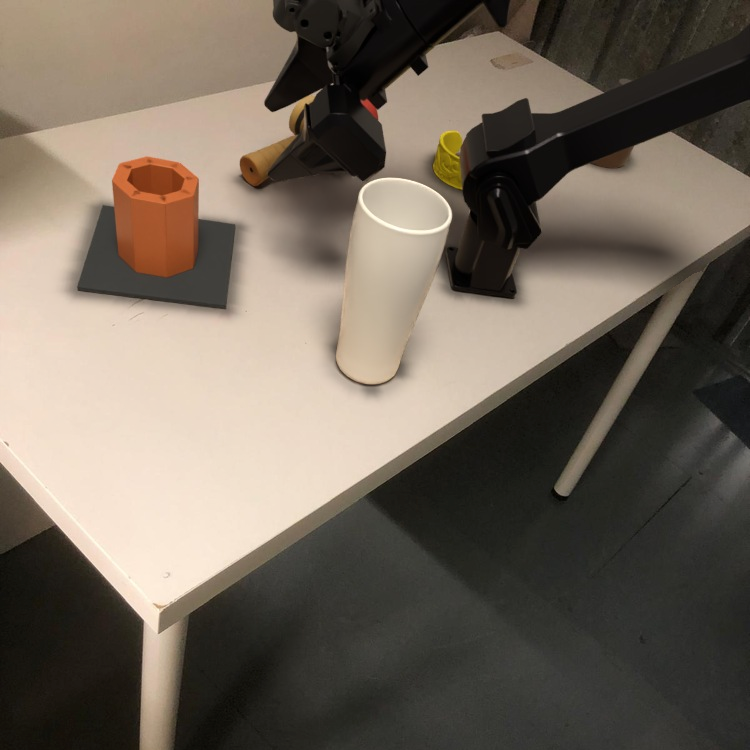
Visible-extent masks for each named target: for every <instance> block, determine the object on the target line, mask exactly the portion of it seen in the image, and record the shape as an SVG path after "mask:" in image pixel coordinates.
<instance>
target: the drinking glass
mask: <svg viewBox="0 0 750 750" xmlns="http://www.w3.org/2000/svg"><path fill="white" fill-rule="evenodd" d="M452 218H453V211H452V207H451V206H450V204H449V203H448V201H447V199H445V198H444V197H443V196H442V194H440V193H439V192H437V191H435V190H434V189H433V188H431V187H429V186H427V185H425V184H423V183H420V182H418V181H414V180H412V179H407V178H401V177H382V178H377V179H374V180H373V179H372V180H371V181H368V182H367V183H366V184H364V185H363V186H362V187H361V188H360V190H359V192H358V196H357V200H356V204H355V209H354V212H353V216H352V221H351V225H350V232H349V237H348V243H347V250H346V251H347V252H346V260H345V270H344V271H345V272H344V284H343V292H342V305H341V315H340V325H339V326H340V327H339V334H338V340H337V345H336V351H335V361H336V364H337V366H338V368H339V370H340V371H341V373H343V374H344V375H345V376H346V377H347V378H349V379H351V380H353V381H355V382H357V383H360V384H364V385H379V384H383V383H386V382H388V381H389V380H391V379H392V378H393V377H394V376H395V375H396V373H397V372H398V370H399V368H400V364H401V361H402V357H403V354H404V352H405V349H406V347H407V345H408V342H409V339H410V337H411V334H412V332H413V330H414V328H415V324H416V322H417V320H418V317H419V316H420V315H419V314H420V313H421V310H422V307H423V305H424V303H425V300H426V298H427V296H428V293H429V291H430V288H431V286H432V284H433V282H434V279H435V276H436V274H437V271H438V268H439V266H440V263H441V260H442V257H443V253H444V252H445V246H446V243H447V240H448V236H449V231H450V228H451V223H452V221H453V219H452Z"/></svg>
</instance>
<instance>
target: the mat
mask: <svg viewBox="0 0 750 750" xmlns="http://www.w3.org/2000/svg"><path fill="white" fill-rule="evenodd" d="M235 233H236V224H235V223H230V222H221V221H216V220H208V219H201V218H199V219H198V254H197V257H196V261H195V264H194V268H193V269H190V270H187V271H185V272H182V273H179V274H176V275H173V276H171V277H161V276H155V275H149V274H143V273H137V272H135V271H134V270H133V269H132V268H131V267H130V266H129V265H128V264H127V263H126V262H125V261H124V260H123V259H122V258H121V257H120V256H119V254H118V243H117V232H116V221H115V210H114V205H113V206H111V205H107V204H106V205H105V204H103V205H102V206H101V210H100V213H99V216H98V219H97V222H96V225H95V229H94V232H93V235H92V238H91V240H90V245H89V248H88V251H87V254H86V258H85V260H84V264H83V266H82V270H81V273H80V276H79V280H78V282H77V286H76V289H77V291H81V292H88V293H94V294H95V293H96V294H102V295H103V294H104V295H112V296H119V297H127V298H133V299H143V300H152V301H160V302H168V303H175V304H184V305H191V306H199V307H207V308H214V309H215V308H216V309H223V310H225V309H226V308H227V301H228V300H227V299H228V291H229V283H230V275H231V267H232V258H233V250H234V242H235V241H234V240H235Z"/></svg>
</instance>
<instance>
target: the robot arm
mask: <svg viewBox="0 0 750 750" xmlns="http://www.w3.org/2000/svg"><path fill="white" fill-rule="evenodd" d="M511 1H512V0H272V5H273V6H272V7H273V9H272V18H273V20H274V21H275V23H276V24H277V25H278V26H279V27H280V28H281V29H283V30H285V31H287V32H289V33H296V41H295V44H294V45H293V47H292V50H291V52H290V54H289V56H288V58H287V59H286V61H285V63H284V64H283V67H282V69H281V70H280V72H279V74H278V75H277V77H276V79H275V81H274V83H273V85H272V86H271V89H270V90H269V92H268V94H267V96H266V97H265V98H264V100H263V101H264V102H263V103H264V104H263V105H264V107H265V108H266V109H267V110H268V111H269V112H271V113H275V112H278V111H279V110H282V109H286V108H288V107H289V106H291V105H294V104H295V103H298V102H299V101H300V100H301V99H303V98H305V97H307V96H311V95H313V94H315V93H316V94H315V95H314V96H315V98H314V100H313V102H312V104H311V106H309V105H308V104H307V103H305V106H304V128H303V130H302V131H301V132H300V133H299V134H298V135H297V137H296V138H295V139H294V140H293V141H292V142H291V143H290V145H289V146H288V147H287V148H286V149H285V150H284V151H283V152H282V154H281V155H280V156H279V157H278V158H277V159H276V161H275V162H274V163H273V164H272V166H271V167H270V168H269V170H268V171H267V175H268V176H269V179H271V180H272V181H273V182H274V183H281V182H286V181H291V180H298V179H302V178H309V177H314V176H321V175H330V174H345V173H347V174H349V176H351V177H352V178H358V179H359V180H360V181H361V182H362V183H364V182H369V180H371V179H372V178H373V177H374V176H376V175H377V174H378V173H379V172H381V171H382V170H383V169H385V168H386V166H385V165H386V159H387V148H386V141H385V135H384V130H383V124H382V123H381V122H380V121H379V119H378V120H377V119H376V118H375V117H374V116H373V115H372V114H371V112H370V111H369V110H368V109H367V108H366V107H365V106H364V105H363V104H362V101H361V100H363V101H365V100H366V99H368V100H369V101H370V103H371V104H372V105H373V106H374V107H375V108H376V109H377V111H379V110H380V109H381V108H382V107H383V106H384V105H387V103H388V98H387V92H386V89H388V88H389V87H390V86H391V85H392V84H393V83H395V82H396V81H397V80H398V79H399V78H400V77H402V75H404V74H405V73H407V71H409V70H410V69H411V70H412V71H413V72H414V73H415V74H416V76H417V77H419V76H420V75H421V74H423V73H424V72H425V71H426V70H427V69H429V63H428V58H427V54H428V53H430V52H431V51H432V50H433V49H434V48H435V47H437V46H438V45H439V44H440V43H441V42H442V41H443V40H445V39H446V38H447V37H448V36H449V35H450V34H451V33H453V32H454V31H455V30H457V28H459V27H460V26H461V25H462V24H463V23H465V22H466V21H467V20H468V19H469V18H471V16H473V14H475V13H476V12H478V10H480V9H481V8H482V7H485V10H486V11H487V12H488V14H489V15H490V17H491V18H492V20H493V21H494V23H495V25H496V27H498V28H499V29H503V28H505V27H506V26H507V25H508V16H509V9H510V5H511ZM749 102H750V23H749V24H747V25H746V26H745V27H744V28H743V29H742V30H741V31H740V32H739V33H738V34H736V35H735V36H732V37H731V38H730V39H727V40H725V41H723V42H720V43H718V44H716V45H714V46H710V47H708V48H707V49H703V50H702V51H699V52H696V53H694V54H692V55H690V56H687V57H685V58H682V59H680V60H678V61H676V62H674V63H673V62H672V63H671V64H669V65H666V66H664V67H661V68H659V69H657V70H654V71H652V72H650V73H647V74H645V75H643V76H640V77H638V78H636V79H633V80H631V82H628V83H626V84H624V85H621V86H619V87H617V88H616V87H614V88H611V89H610V90H607V91H605V92H602V93H600V94H598V95H595V96H593V97H591V98H588V99H586V100H584V101H582V102H579V103H577V104H574V105H572V106H569V107H567V108H564V109H562V110H560V111H556V112H551V113H550V112H549V113H547V112H545V113H544V112H532V109H531V105H530V99H529V98H527V97H524V98H521V99H519V100H517V101H514V103H512V104H510V105H509V106H507V107H505V108H504V109H502V110H499V111H496V112H491V113H489V112H488V113H482V114H481V122H480V123H478V124H477V125H475V126H474V127H472V128H470V130H469V131H468V132H467V133H466V134H465V137H464V139H463V140H462V146H461V149H460V150H459V157H460V169H461V181H462V190H461V192H462V196H463V201H464V203H465V205H466V207H467V208H468V209H469V212H468V215H467V219H466V222H465V224H464V227H463V231H462V235H461V237H460V240H459V242H458V246H451V245H449V246H446V248H445V257H446V264H447V270H448V275H449V281H450V285H451V288H452V289H453V290H455V291H459V292H468V293H473V294H481V295H488V296H497V297H504V298H511V299H512V298H515V297H517V294H518V291H517V286H516V283H515V279H514V275H513V269H514V267H515V264H516V262H517V260H518V257H519V254H520V252H521V250H522V249H523V250H528V249H529V248H530V247H531V246H532V245H533V244H534V242H536V240H537V239H538V238H539V237H540V236H541V235H542V233H543V232H542V226H541V221H540V216H539V209H538V205H537V202H539V201H540V200H542V199H543V198H544V197H545V196H547V194H548V193H549V192H550V191H551V190H552V189H553V188H555V186H556V185H557V184H559V183H560V182H561V181H562V179H564V178H565V177H566V176H567V175H568V174H569V173H572V172H573V171H574V170H577V169H579V168H582V167H585V166H587V165H589V164H593V163H592V162H595V161H597V160H600V159H602V158H605V157H607V156H610V155H612V154H615V153H617V152H620V151H623V150H625V149H628V148H630V147H633V146H634V147H636V146H638V145H640V144H643V143H645V142H648V141H651V140H653V139H655V138H658V137H661V136H663V135H666V134H668V133H671V132H673V131H677V130H678V129H681V128H684V127H686V126H688V125H691V124H694V123H696V122H699V121H701V120H704V119H706V118H708V117H709V118H710V117H712V116H714V115H717V114H719V113H721V112H724V111H726V110H729V109H731V108H734V107H737V106H739V105H742V104H745V103H749ZM634 147H633V148H634Z"/></svg>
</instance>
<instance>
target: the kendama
mask: <svg viewBox="0 0 750 750" xmlns="http://www.w3.org/2000/svg"><path fill="white" fill-rule="evenodd" d="M315 96H316V95H313V94H311V95H309V96H307V97H305V98H303V99H301V100H299V101H297V102H296V105H295V106H294V107H293V109H292V111H291V113H290V115H289V119H288V120H289V121H288V128H289V130H290V132H291V133H292V134H293V135H291V136H289V137H286V138H284V139H281V140H278V141H277V142H274V143H272V144H270V145H268V146H265V147H262V148H260V149H258V150H255V151H252V152H249V153H247V154H243V155H242V156H241V157H240V159H239V169H240V172H241V174H242V176H243V178H244V180H245V181H246V182H247V183H248V184H249V185H251V186H253V187H257V186H259V185H260V184H262V183H264V182H265V181H266V180H268V178H269V179H270V177H269V176H268V175H267V171H268V170H269V168H270V167H271V166H272V164H273V163H274V162H275V161H276V159H277V158H278V157H279V156H280V155H281V154H282V152H283V151H284V150H285V149H286V148H287V147H288V146H289V145H290V143H291V142H292V141H293V140H294V139H295V138H296V137H297V135H298V134H299V133H300V132H301V131H302V130H303V128H304V106H305V103H307V104H308V105H309V106H311V104H312V102H313V100H314V98H315ZM361 101H362V104H363V105H364V106H365V107H366V108H367V109H368V110H369V111H370V112H371V114H372V115H373V116H374V117H375V118H376V119H377V120H378V121H379V114H378V110H377V109H376V108H375V107H374V106H373V105H372V104H371V103H370V101H369V100H368V99H366V100H365V101H363V100H361Z"/></svg>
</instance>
